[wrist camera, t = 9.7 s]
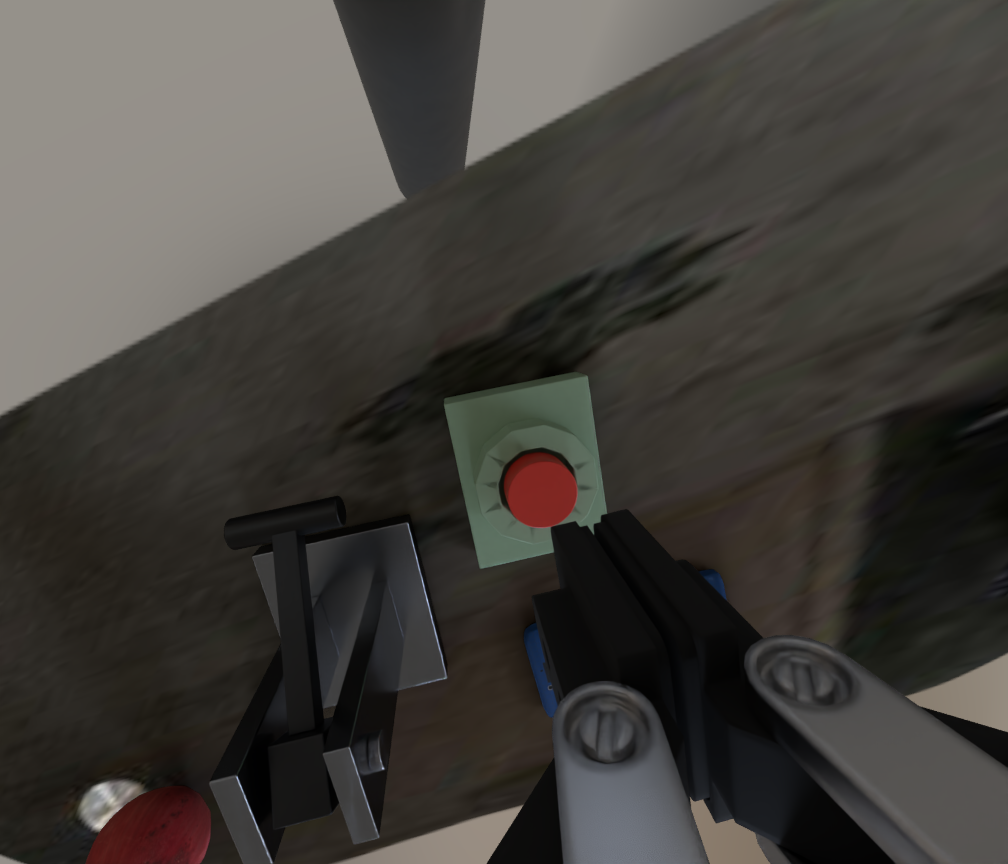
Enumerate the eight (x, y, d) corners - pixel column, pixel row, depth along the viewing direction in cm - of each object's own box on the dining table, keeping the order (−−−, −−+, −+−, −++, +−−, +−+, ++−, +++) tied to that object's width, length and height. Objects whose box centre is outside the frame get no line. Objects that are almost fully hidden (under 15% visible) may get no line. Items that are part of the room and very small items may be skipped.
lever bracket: (259, 546, 28) (113, 721, 16) (409, 513, 29) (382, 657, 16) (311, 697, 31) (220, 950, 18) (447, 664, 31) (449, 886, 19)
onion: (208, 740, 31) (127, 881, 23) (247, 804, 32) (183, 958, 24) (119, 771, 30) (8, 925, 23) (162, 835, 32) (71, 1001, 24)
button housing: (443, 398, 27) (443, 410, 24) (577, 371, 28) (598, 379, 24) (477, 551, 30) (482, 586, 26) (599, 524, 30) (621, 553, 27)
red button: (497, 459, 25) (501, 469, 23) (564, 445, 25) (572, 454, 23) (509, 521, 26) (514, 535, 24) (573, 507, 26) (582, 520, 24)
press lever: (244, 521, 23) (216, 516, 21) (347, 499, 23) (331, 491, 21) (264, 809, 20) (233, 841, 17) (384, 778, 20) (369, 805, 18)
